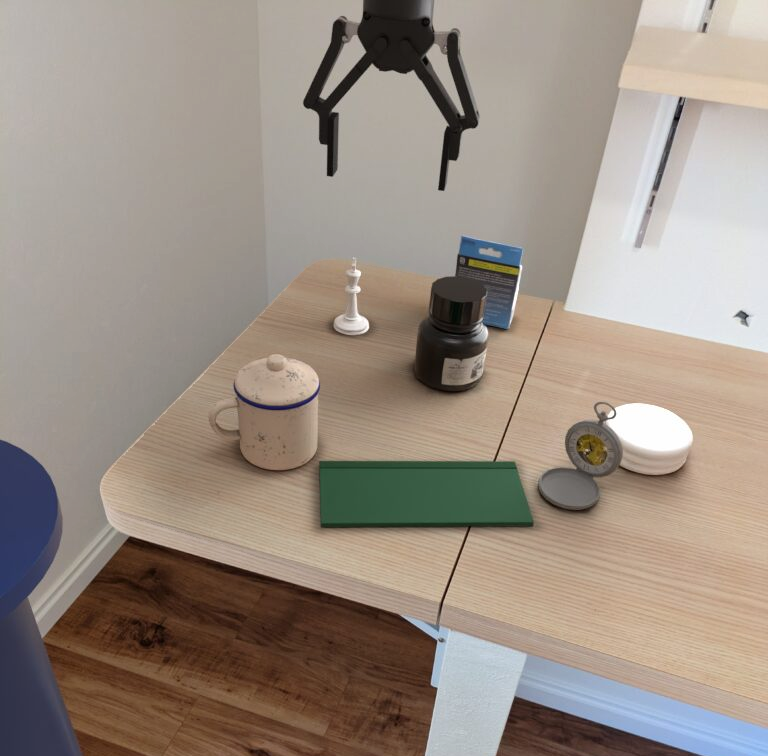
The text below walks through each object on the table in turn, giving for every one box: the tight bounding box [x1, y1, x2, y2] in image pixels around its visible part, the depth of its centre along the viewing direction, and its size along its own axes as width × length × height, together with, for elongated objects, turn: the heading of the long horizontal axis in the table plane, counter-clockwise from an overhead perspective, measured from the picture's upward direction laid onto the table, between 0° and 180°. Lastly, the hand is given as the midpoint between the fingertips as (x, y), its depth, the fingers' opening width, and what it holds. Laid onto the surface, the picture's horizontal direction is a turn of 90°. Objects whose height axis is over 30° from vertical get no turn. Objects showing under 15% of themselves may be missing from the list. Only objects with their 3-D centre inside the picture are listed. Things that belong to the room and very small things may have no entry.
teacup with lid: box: [208, 353, 321, 471], centre depth 86 cm, size 12×9×12 cm
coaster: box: [603, 403, 694, 476], centre depth 93 cm, size 10×10×4 cm
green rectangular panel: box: [318, 460, 535, 528], centre depth 85 cm, size 22×10×1 cm, turn 94°
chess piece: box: [333, 257, 370, 336], centre depth 108 cm, size 5×5×10 cm
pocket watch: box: [538, 401, 623, 511], centre depth 85 cm, size 8×8×10 cm
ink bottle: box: [413, 275, 490, 392], centre depth 100 cm, size 10×9×12 cm
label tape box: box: [454, 234, 524, 330], centre depth 111 cm, size 9×4×12 cm, turn 72°
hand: (386, 180), depth 97 cm, fingers open, 13 cm apart
